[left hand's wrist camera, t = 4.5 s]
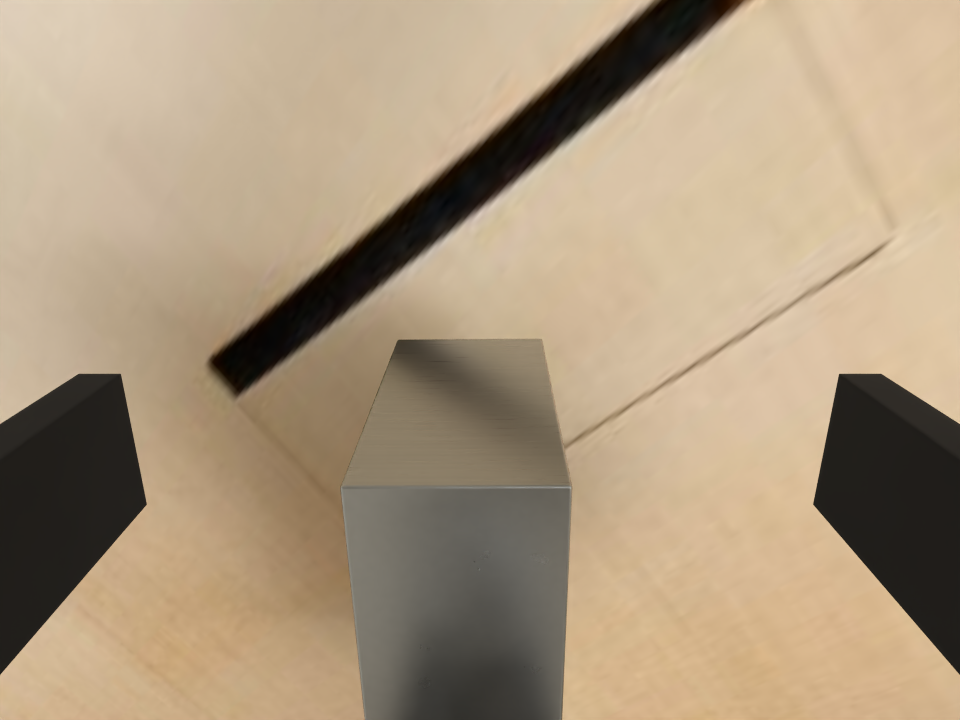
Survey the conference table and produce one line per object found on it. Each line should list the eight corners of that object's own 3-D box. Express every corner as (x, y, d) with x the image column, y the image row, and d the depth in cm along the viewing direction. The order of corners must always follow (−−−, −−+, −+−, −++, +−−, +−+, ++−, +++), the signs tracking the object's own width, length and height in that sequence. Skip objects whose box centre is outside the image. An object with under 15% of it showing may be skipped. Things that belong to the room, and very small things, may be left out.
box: (397, 339, 28) (339, 486, 17) (541, 338, 27) (572, 486, 17) (420, 714, 35) (390, 972, 25) (533, 714, 35) (551, 974, 25)
